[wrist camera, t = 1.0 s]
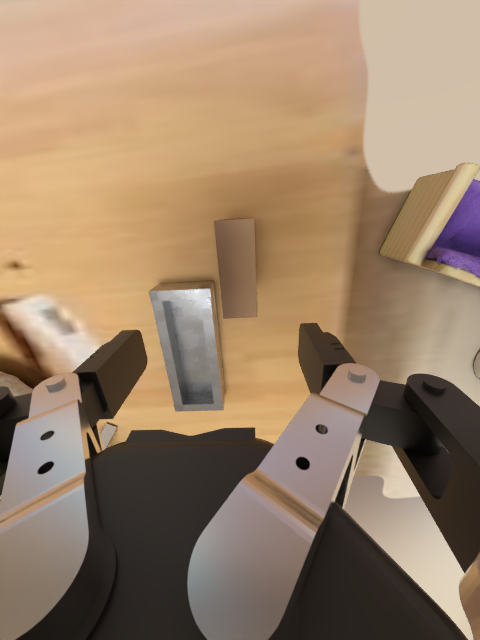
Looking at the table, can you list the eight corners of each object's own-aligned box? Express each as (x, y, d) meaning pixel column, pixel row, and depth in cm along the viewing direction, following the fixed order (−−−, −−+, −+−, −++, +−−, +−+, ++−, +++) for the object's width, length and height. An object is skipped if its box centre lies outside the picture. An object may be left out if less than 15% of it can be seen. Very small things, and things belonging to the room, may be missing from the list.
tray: (213, 280, 30) (209, 288, 26) (225, 393, 37) (223, 410, 34) (159, 283, 30) (148, 291, 27) (181, 394, 37) (175, 411, 34)
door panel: (251, 218, 27) (255, 218, 17) (253, 286, 30) (257, 317, 21) (224, 219, 27) (213, 221, 18) (229, 287, 30) (223, 318, 21)
